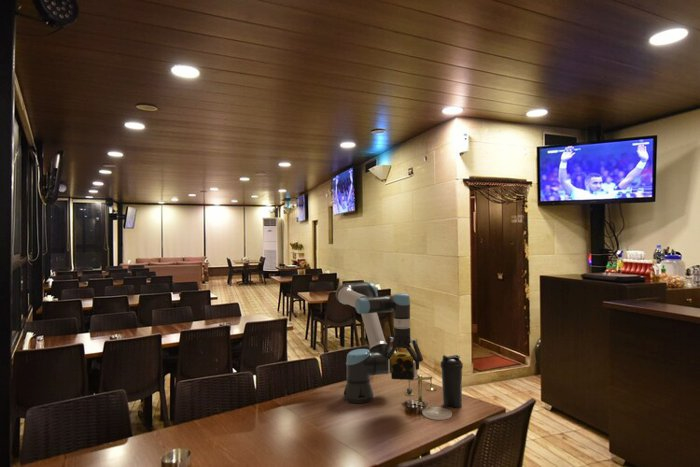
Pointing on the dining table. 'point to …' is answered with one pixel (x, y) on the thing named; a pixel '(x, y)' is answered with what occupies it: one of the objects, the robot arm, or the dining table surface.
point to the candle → (402, 366)
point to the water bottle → (452, 381)
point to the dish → (437, 413)
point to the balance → (420, 388)
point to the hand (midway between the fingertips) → (402, 374)
